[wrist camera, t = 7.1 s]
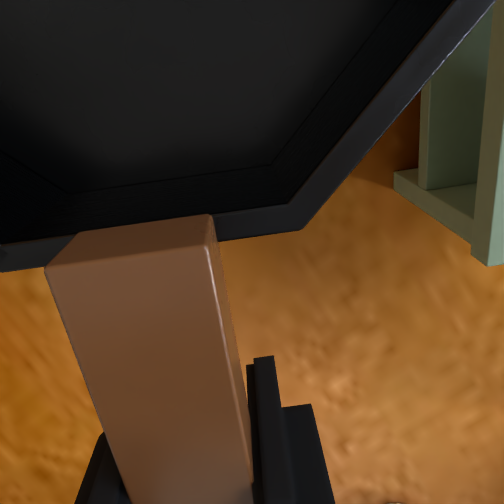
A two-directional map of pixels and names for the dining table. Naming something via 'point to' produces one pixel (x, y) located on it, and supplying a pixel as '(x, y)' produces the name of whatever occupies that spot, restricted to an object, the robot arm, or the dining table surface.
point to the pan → (187, 187)
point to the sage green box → (465, 142)
